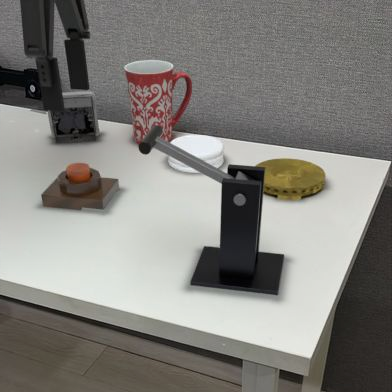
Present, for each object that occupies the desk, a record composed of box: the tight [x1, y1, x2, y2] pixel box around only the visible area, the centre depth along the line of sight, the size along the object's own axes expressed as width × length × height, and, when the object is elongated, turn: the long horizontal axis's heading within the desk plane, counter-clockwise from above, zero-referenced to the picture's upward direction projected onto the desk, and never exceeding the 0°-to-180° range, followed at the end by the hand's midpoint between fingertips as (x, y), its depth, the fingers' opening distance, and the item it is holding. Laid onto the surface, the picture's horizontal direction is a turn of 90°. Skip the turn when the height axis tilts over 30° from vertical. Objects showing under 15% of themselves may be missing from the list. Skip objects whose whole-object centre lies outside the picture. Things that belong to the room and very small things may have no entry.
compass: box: [255, 157, 326, 201], centre depth 94 cm, size 12×12×2 cm
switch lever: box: [138, 125, 256, 185], centre depth 65 cm, size 14×6×2 cm, turn 78°
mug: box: [123, 59, 193, 145], centre depth 106 cm, size 13×9×14 cm
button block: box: [40, 167, 120, 211], centre depth 89 cm, size 10×8×4 cm
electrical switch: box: [46, 90, 100, 143], centre depth 107 cm, size 9×5×9 cm, turn 99°
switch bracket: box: [189, 164, 285, 296], centre depth 69 cm, size 11×9×14 cm
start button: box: [65, 162, 91, 182], centre depth 88 cm, size 4×4×2 cm
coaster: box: [167, 134, 225, 174], centre depth 100 cm, size 10×10×4 cm
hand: (67, 98), depth 80 cm, fingers open, 9 cm apart
